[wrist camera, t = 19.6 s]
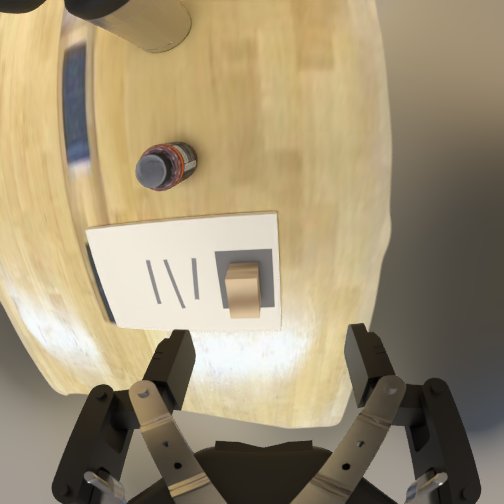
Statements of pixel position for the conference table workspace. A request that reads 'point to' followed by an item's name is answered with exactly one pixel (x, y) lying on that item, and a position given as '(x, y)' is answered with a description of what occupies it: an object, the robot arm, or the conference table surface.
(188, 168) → the supplement bottle
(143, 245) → the board
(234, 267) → the block
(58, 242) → the conference table surface
